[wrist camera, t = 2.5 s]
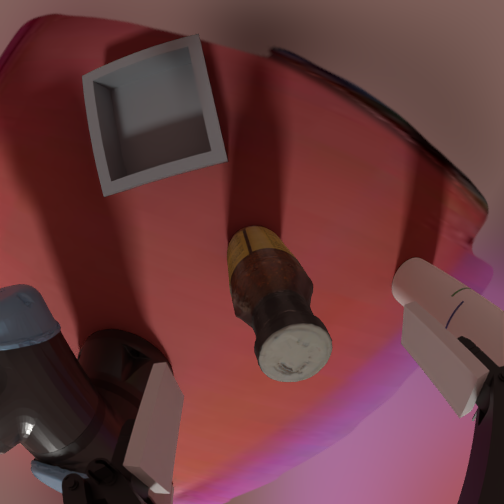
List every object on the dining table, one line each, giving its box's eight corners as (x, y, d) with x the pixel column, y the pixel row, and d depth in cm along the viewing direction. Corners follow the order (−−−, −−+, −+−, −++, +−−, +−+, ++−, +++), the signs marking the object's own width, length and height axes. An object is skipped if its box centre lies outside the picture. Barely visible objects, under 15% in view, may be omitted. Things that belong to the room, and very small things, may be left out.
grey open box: (123, 191, 29) (103, 197, 24) (103, 87, 25) (82, 76, 20) (228, 161, 29) (227, 160, 24) (203, 53, 25) (198, 33, 20)
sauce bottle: (240, 282, 34) (253, 413, 15) (218, 236, 32) (202, 340, 13) (291, 260, 33) (357, 373, 14) (271, 212, 31) (332, 287, 12)
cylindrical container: (383, 284, 35) (507, 406, 12) (416, 247, 34) (557, 337, 10) (405, 311, 37) (509, 421, 13) (435, 277, 36) (552, 367, 12)
